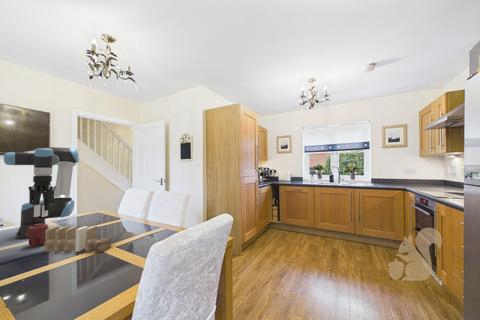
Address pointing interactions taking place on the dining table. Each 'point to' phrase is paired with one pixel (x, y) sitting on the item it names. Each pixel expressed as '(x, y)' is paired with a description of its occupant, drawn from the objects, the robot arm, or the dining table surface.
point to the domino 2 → (60, 239)
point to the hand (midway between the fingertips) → (40, 216)
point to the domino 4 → (80, 238)
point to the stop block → (102, 244)
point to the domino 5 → (91, 238)
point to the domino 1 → (50, 239)
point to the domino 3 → (70, 238)
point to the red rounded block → (36, 234)
